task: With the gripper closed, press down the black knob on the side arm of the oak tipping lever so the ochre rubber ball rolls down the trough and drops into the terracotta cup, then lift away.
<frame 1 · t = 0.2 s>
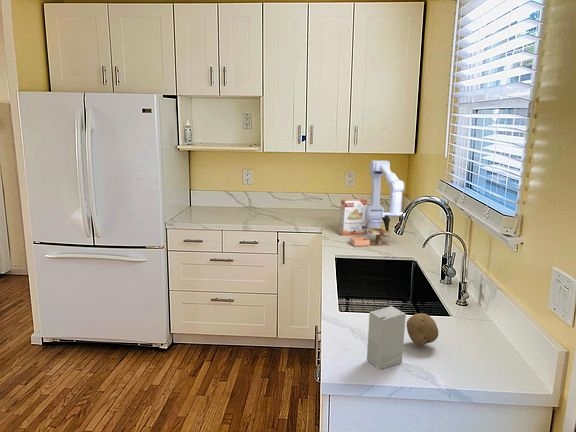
hand: (393, 230, 242), 10 cm above the worktop, tool pointing down, fingers open, 7 cm apart
skincare box: (384, 363, 129), on the worktop
lever: (375, 230, 252), point 7 cm above the worktop, hinge at -5.0°, touching ball
ball: (384, 228, 249), point 9 cm above the worktop, tilted 21°, touching lever
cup: (359, 244, 248), resting on stand
potato: (421, 346, 139), on the worktop
cracker box: (351, 235, 272), on the worktop
stand: (378, 245, 250), on the worktop
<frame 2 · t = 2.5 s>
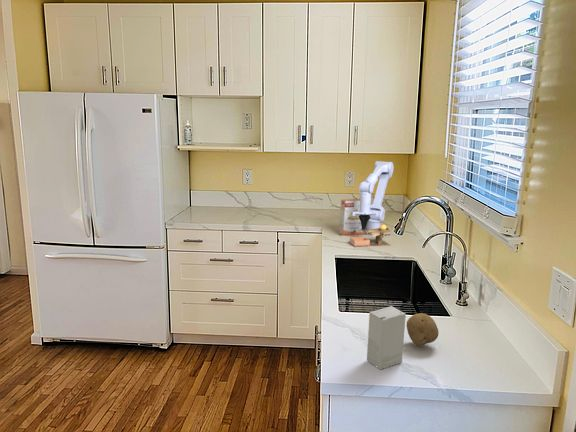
hand: (363, 228, 256), 7 cm above the worktop, tool pointing down, fingers closed, pressing on lever
lever: (375, 230, 252), point 7 cm above the worktop, hinge at 6.6°, touching ball, gripper
ball: (383, 228, 249), point 10 cm above the worktop, tilted 27°, touching lever
everything else where it was.
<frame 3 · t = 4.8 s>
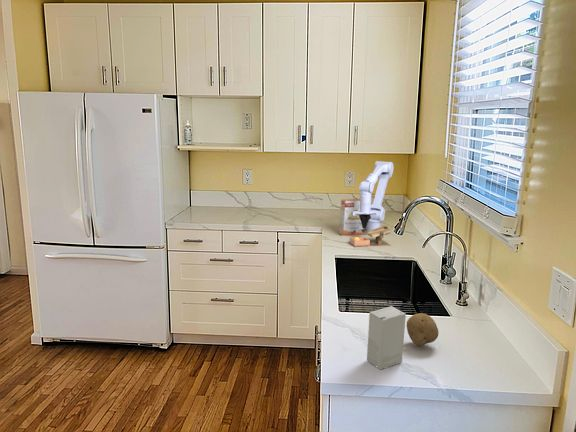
hand: (364, 228, 256), 8 cm above the worktop, tool pointing down, fingers closed
lever: (375, 230, 252), point 7 cm above the worktop, hinge at 16.3°
ball: (356, 240, 247), point 3 cm above the worktop, tilted 126°, touching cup
everything else where it was.
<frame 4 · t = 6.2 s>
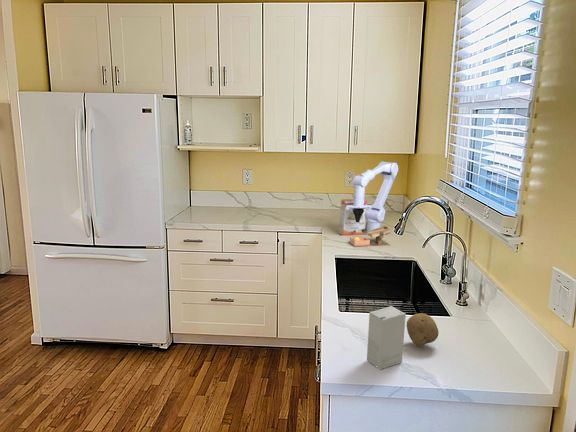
hand: (357, 222, 258), 10 cm above the worktop, tool pointing down, fingers closed
nothing on the worktop moved.
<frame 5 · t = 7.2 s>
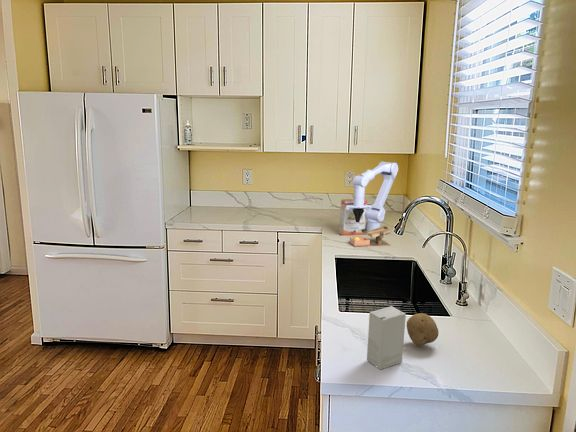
hand: (357, 222, 258), 10 cm above the worktop, tool pointing down, fingers closed
nothing on the worktop moved.
at the end: ball inside the target area on the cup (1.7 cm from its centre), point 2.2 cm above the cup's base; ball moved 15.9 cm from its start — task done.
